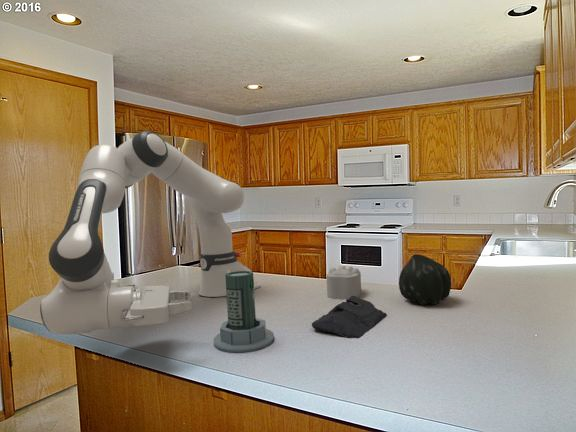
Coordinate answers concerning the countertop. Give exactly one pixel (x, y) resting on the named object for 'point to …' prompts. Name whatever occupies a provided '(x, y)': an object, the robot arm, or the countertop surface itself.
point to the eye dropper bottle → (114, 282)
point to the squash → (424, 280)
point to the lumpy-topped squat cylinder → (343, 283)
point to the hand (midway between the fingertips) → (190, 299)
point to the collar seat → (243, 338)
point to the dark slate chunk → (350, 318)
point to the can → (240, 300)
